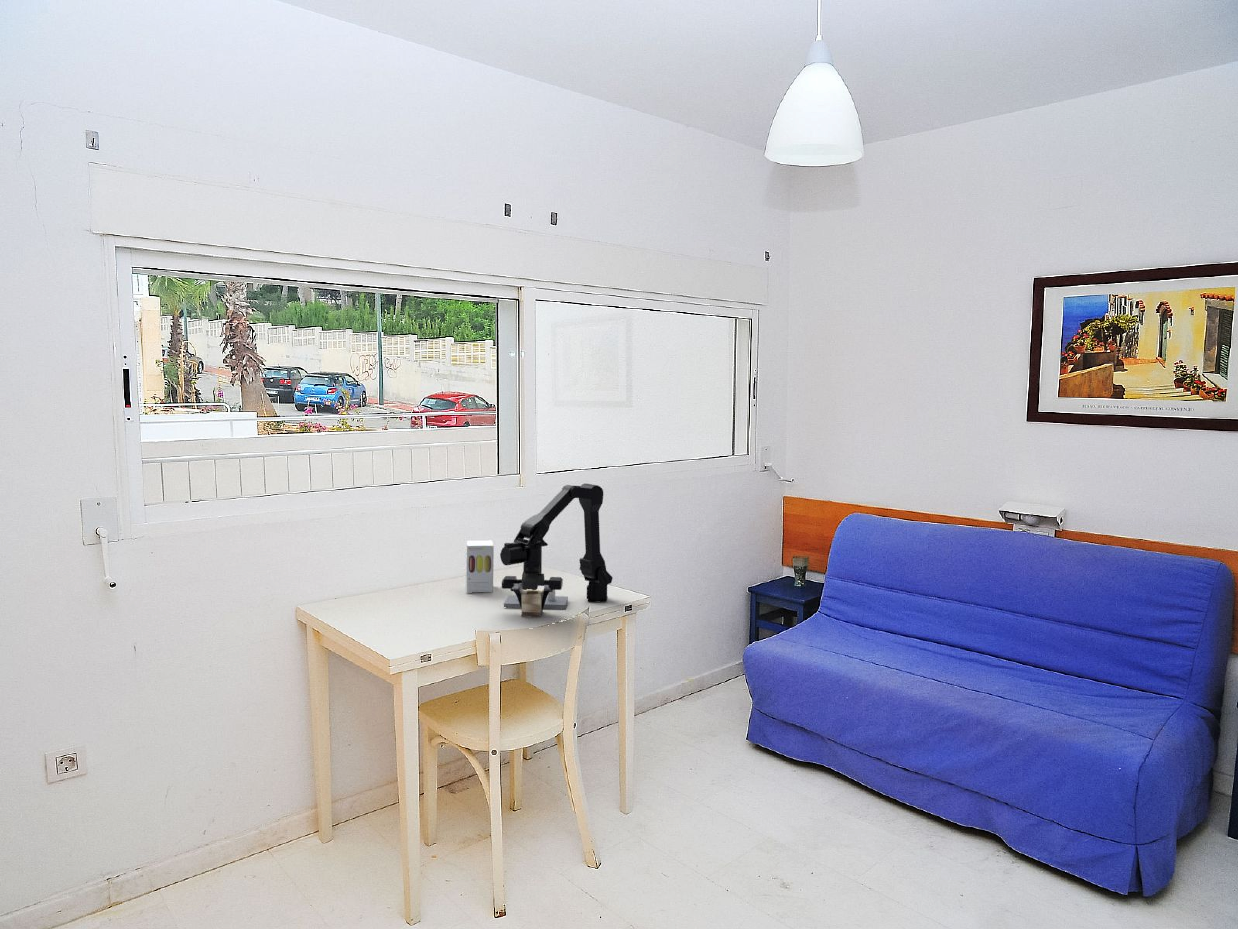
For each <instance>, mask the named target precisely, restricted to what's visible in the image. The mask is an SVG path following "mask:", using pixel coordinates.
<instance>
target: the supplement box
mask: <svg viewBox="0 0 1238 929" xmlns="http://www.w3.org/2000/svg"><path fill="white" fill-rule="evenodd" d="M493 542H494V541H493V540H467V541H466V554H465V555H466V557H465V591H466V592H465V593H466V594H473V593H472V592H492V593H493V592H494V561H495V560H494V558H495V557H494V553H495V552H494V543H493Z"/></svg>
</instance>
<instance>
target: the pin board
mask: <svg viewBox="0 0 1238 929" xmlns="http://www.w3.org/2000/svg"><path fill="white" fill-rule="evenodd" d="M523 591H524V590H523V589H522V592H523ZM568 601H569V597H568V596H563V595H562V596H559V595H557V596H556V590H553V592H549V594H548V596H547V598H546V602H545V605H544V608H543V610H566V608H567V606H568ZM504 607H506V608H505V609H521V606H520V604H519V601H518V598H517V596H516V594H511V595H507V597H506V599H505V601H504V602H503V608H504Z"/></svg>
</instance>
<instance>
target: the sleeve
mask: <svg viewBox="0 0 1238 929" xmlns="http://www.w3.org/2000/svg"><path fill="white" fill-rule="evenodd" d="M543 590H544V589H543ZM543 590H542V589H536V590H532V589H527V590H524V591H523V593H522V609H521V617H522V616H531V617H530V618H541V617H542V615H543V610H544V609H543V610H542V598H543Z"/></svg>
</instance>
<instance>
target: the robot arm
mask: <svg viewBox="0 0 1238 929" xmlns="http://www.w3.org/2000/svg"><path fill="white" fill-rule="evenodd" d="M575 499H578V502H579V505H580V506H581V509H582V511H583V518H584V519H583V521H584V545H585V546H584V547H585V549H584V550H585V553H584V556H583V557H580V558H579V571H581V574H582V576H583V578H584V581H585V582H588V584H587V585H586V599H587V602H589V603H608V599H609V596H608V585H611V584H612V582H613V578H614V577H613V576H612V575H611V574H610V573H609V571H608V570H607V567H606V566H607V565H606V561H605V559H604V557H603V555H602V553H601V539H600V538H601V537H600V509H601V507H602V505H603V501H604V490H603V488H602V487H601V486H600V485H598V484H591V483H583V484H581V485H570V484H566V485H564V486H563V487H562V488H561V490H560V491H559V492H558V493H557V494H556V495H555V496H554V497H553V498H552V499H551V500H550V501H549V502H548V504H546V506H545V507H543V509H542V510H540V511H539V512H538V513H536V514H534V515H532V516H530V517H529V518H527V519H526V520H525V521H524V522H522V523H521V525H520V529H519V531H518V533H517V534H516V536H515V538H514V540H513V542H505V543H504V546H503V547H502V549H501V550H500V553H499V556H500V561H501V563H502V564H503V565H504V566H512V565H519V564H522V565H523V567H522V569H523V570H522V575H521V578H519V579H518V578H517V576H516V575H505V576H504V577H503V578H502V580H501V589H505V590H507V589H508V590H510V592H513V593H514V595H516V596H517V598H518V601H519V604H520V606H521V608H520V609H521V610H522V593H523V592H522V589H523V590H538V589H539V588H538V587H544V588H543V598H542V610H544V609H543V608H544V605H545V602H546V598H547V596H548V594H549V592H553V590H555V591H560V590H562V588H563V586H564V585H563V584H564V583H563V582H564V581H563V580H564V579H563V578H562V576H561V577H560V576H550V577H549V579H545V573H542V571H543V569H542V568H543V567H542V565H543V556H542V555H543V551H542V550H543V549H542V548H543V547H547V546H548V545H549V544H548V543H547V542H546V541H545V539H544V537H545V536H546V535H547V533H548V532H549V530H550V526H551V524H552V522H554V520H555V519H556V518H557V517H558V516H559V515H560V514H561V513H562V512H563V511H564V510H565V509H566V508H567V506H568V505H570V503H571V502H572V501H574V500H575Z"/></svg>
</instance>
